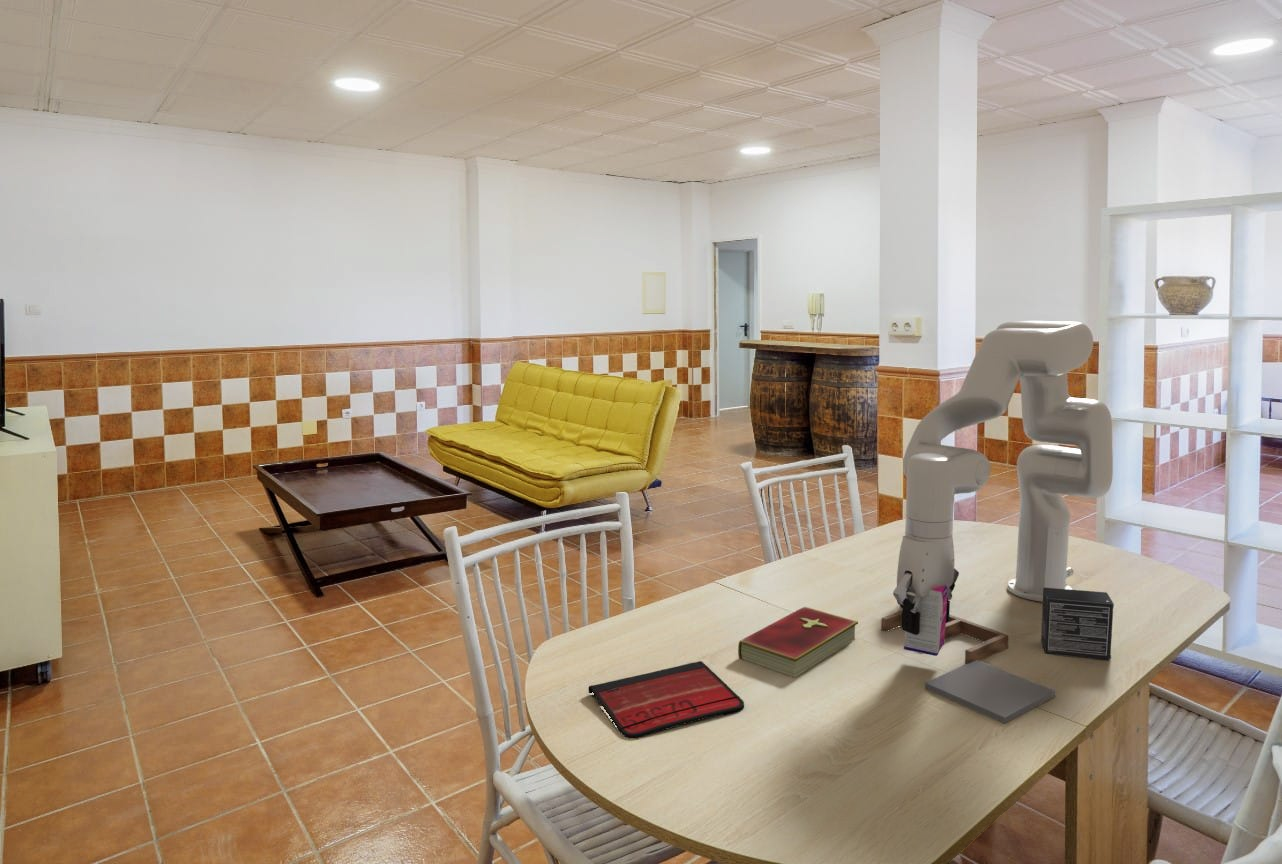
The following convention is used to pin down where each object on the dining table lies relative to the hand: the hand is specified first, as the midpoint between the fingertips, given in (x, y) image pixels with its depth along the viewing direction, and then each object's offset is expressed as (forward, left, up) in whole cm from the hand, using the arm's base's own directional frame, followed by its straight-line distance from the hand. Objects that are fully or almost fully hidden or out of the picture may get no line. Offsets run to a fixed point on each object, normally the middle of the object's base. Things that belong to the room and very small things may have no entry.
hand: (925, 625), depth 142 cm
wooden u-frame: (-11, -4, -7) cm, 14 cm away
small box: (-26, +13, -7) cm, 30 cm away
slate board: (0, +13, -7) cm, 14 cm away
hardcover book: (+12, -18, -8) cm, 23 cm away
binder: (+43, -16, -8) cm, 47 cm away
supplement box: (0, 0, -4) cm, 4 cm away
